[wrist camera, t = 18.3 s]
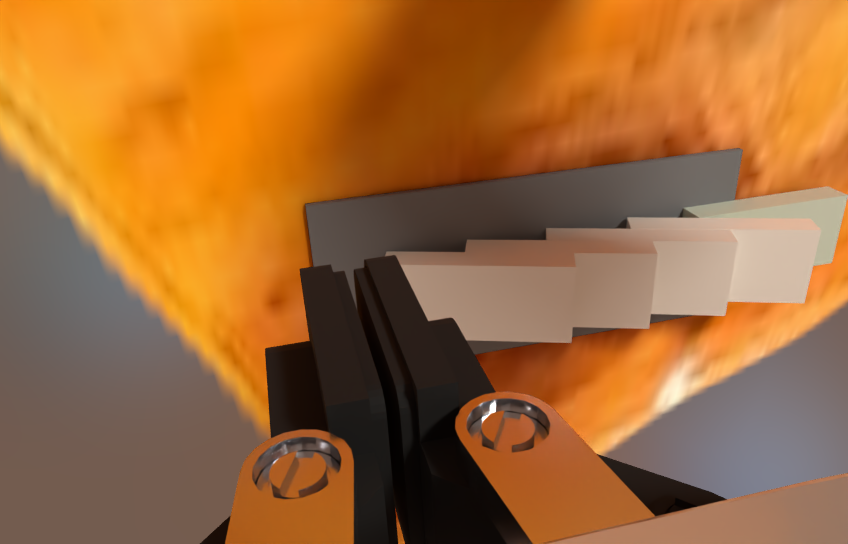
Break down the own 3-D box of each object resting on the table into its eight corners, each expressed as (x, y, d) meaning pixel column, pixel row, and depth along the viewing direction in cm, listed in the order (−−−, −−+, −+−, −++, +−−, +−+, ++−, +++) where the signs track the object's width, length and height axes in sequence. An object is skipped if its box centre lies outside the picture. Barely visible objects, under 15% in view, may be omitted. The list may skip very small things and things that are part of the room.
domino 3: (544, 311, 44) (725, 315, 42) (546, 239, 42) (738, 241, 40) (543, 297, 45) (717, 301, 44) (545, 228, 43) (730, 229, 42)
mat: (328, 377, 45) (328, 380, 44) (305, 203, 39) (305, 206, 39) (712, 308, 50) (715, 311, 50) (738, 148, 45) (742, 149, 44)
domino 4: (624, 299, 45) (804, 303, 43) (631, 228, 42) (821, 230, 41) (620, 286, 46) (794, 289, 45) (627, 217, 44) (810, 218, 43)
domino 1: (387, 338, 42) (571, 342, 40) (381, 264, 40) (576, 266, 38) (392, 322, 44) (569, 326, 42) (386, 251, 41) (573, 252, 40)
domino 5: (683, 207, 45) (827, 186, 47) (674, 275, 47) (812, 252, 49) (699, 217, 43) (848, 195, 46) (689, 287, 46) (831, 262, 48)
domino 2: (466, 324, 43) (649, 328, 41) (464, 252, 41) (657, 253, 39) (468, 310, 44) (644, 313, 43) (467, 239, 42) (652, 240, 41)
